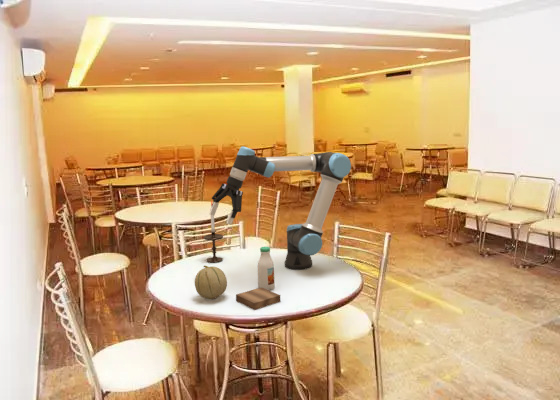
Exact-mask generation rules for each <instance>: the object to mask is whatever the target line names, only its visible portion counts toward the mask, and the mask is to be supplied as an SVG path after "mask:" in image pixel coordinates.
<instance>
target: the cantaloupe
mask: <svg viewBox="0 0 560 400" xmlns="http://www.w3.org/2000/svg"><path fill="white" fill-rule="evenodd" d="M194 286H195V288H194V289H195V290H196V292H197V294H198V295H199V296H200V297H202V298H204V299H208V300H214V299H217V298H218V297H220V296H222V295H224V293H225V291H227V287H228V278H227V277H226V273H224V271H223V269H221V268H219V267H217V266H208V265H204V266H203V268H202V269H200V270H199V271H198V272H197V273H196V275H195V278H194Z"/></svg>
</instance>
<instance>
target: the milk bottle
mask: <svg viewBox="0 0 560 400" xmlns="http://www.w3.org/2000/svg"><path fill="white" fill-rule="evenodd" d="M259 250H260V256H259V259H258V261H257V284H258V285H257V286H258V287H257V288H260V287H262V288H264V289H267V290H269V291H272V290H274V289H275V267H274V266H275V264H274V261H273V259H272V257H271V248H270V247H269V246H261V247H260V248H259Z"/></svg>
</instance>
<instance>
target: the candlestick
mask: <svg viewBox="0 0 560 400" xmlns="http://www.w3.org/2000/svg"><path fill="white" fill-rule="evenodd" d="M210 203H211V204H210V211H211V208H212V204H213V200H211V201H210ZM210 211H209V212H210ZM210 225H211V226H210V227H211V228H210V229H211V231H209V233H211V234H206V235H204V236H203V240H205V241H212V247H211V250H212V251H211V253H212V255H213V256H212V257H208V258H207V259H206V263H208V264H217V263H222V262H223V261H224V259H223V258H222V257H220V256H217V251H216V250H217V247H216V241H220V240H223V238H224V235H223V234H219V233H217V232H218V231H216V230H215V228H216V227H215V215H214V216H213V215H210Z"/></svg>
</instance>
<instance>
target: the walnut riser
mask: <svg viewBox="0 0 560 400" xmlns="http://www.w3.org/2000/svg"><path fill="white" fill-rule="evenodd" d="M235 301H236V302H237V303H240V304H241V305H244V307H245V306H246V307H248V308H249V309H251V310H254V311H255V310H258V309H259V310H260V309H263V308H266V307H268V306H271V305H274V304H277V303H280V302H281V294H278V293H276V292H274V291H272V290H267V289H264V288H262V287H260V288H258V287H257V288H254V289H251V290H247V291H244V292H240V293H237V294H235Z"/></svg>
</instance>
